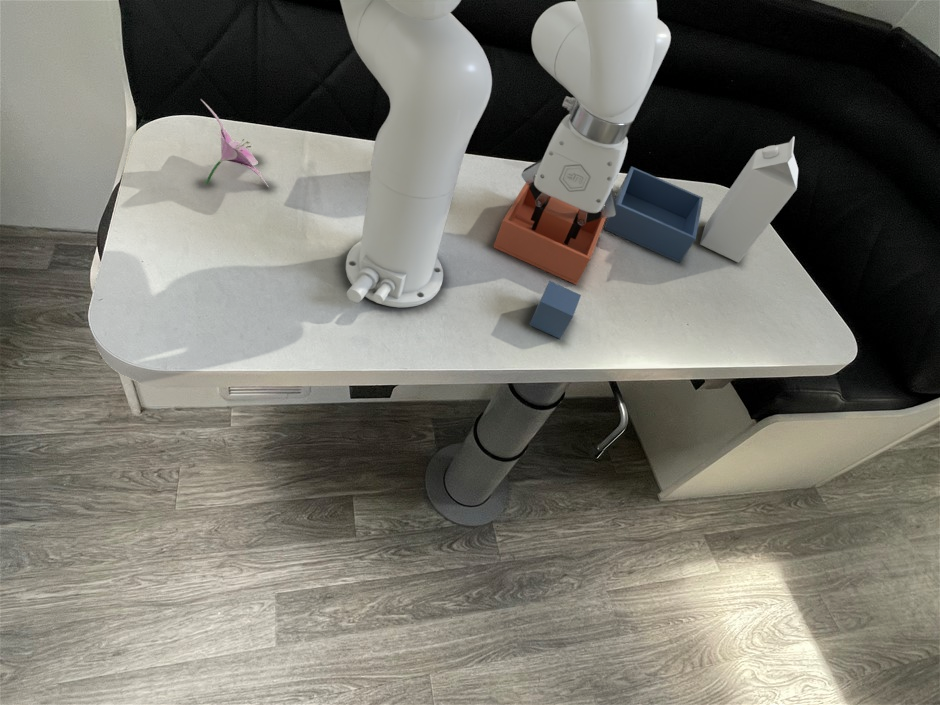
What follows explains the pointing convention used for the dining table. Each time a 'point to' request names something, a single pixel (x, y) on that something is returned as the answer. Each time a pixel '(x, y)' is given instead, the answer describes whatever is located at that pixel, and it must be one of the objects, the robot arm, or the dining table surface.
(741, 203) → the milk carton
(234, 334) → the dining table surface
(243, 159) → the lily
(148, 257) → the dining table surface
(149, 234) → the dining table surface
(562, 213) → the terracotta block
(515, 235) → the terracotta bin
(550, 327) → the slate block
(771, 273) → the dining table surface
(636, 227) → the slate bin
